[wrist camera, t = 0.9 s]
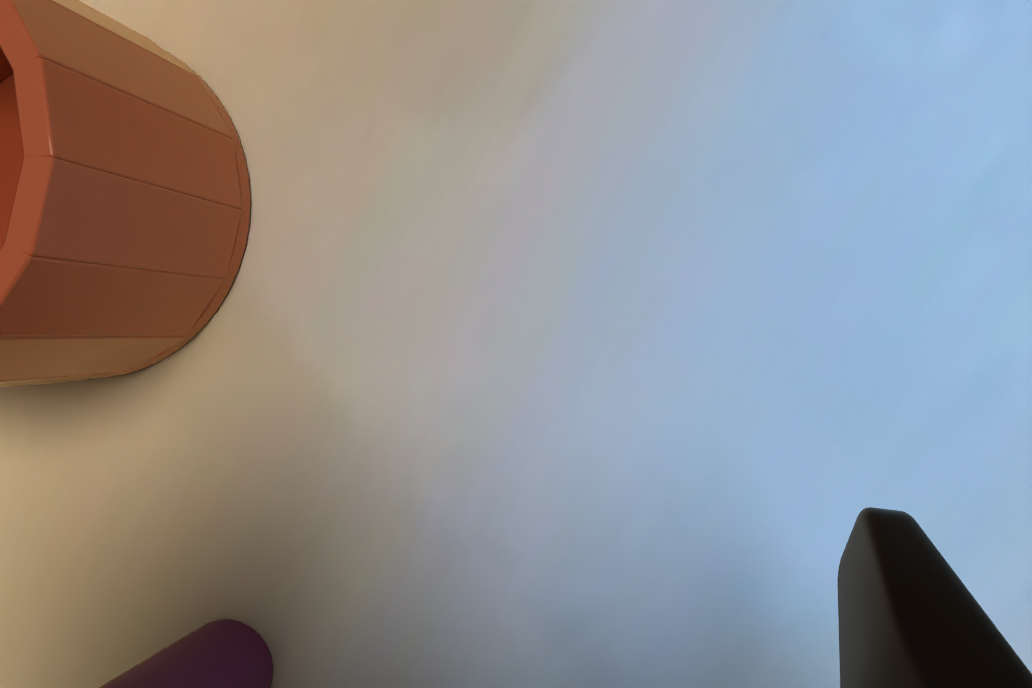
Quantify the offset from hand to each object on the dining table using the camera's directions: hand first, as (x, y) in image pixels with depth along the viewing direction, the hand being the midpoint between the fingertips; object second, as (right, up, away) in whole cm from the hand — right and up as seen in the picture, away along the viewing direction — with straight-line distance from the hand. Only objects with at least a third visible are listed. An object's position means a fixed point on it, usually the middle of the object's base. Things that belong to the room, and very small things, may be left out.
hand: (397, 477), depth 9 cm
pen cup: (-10, +5, +15) cm, 18 cm away
